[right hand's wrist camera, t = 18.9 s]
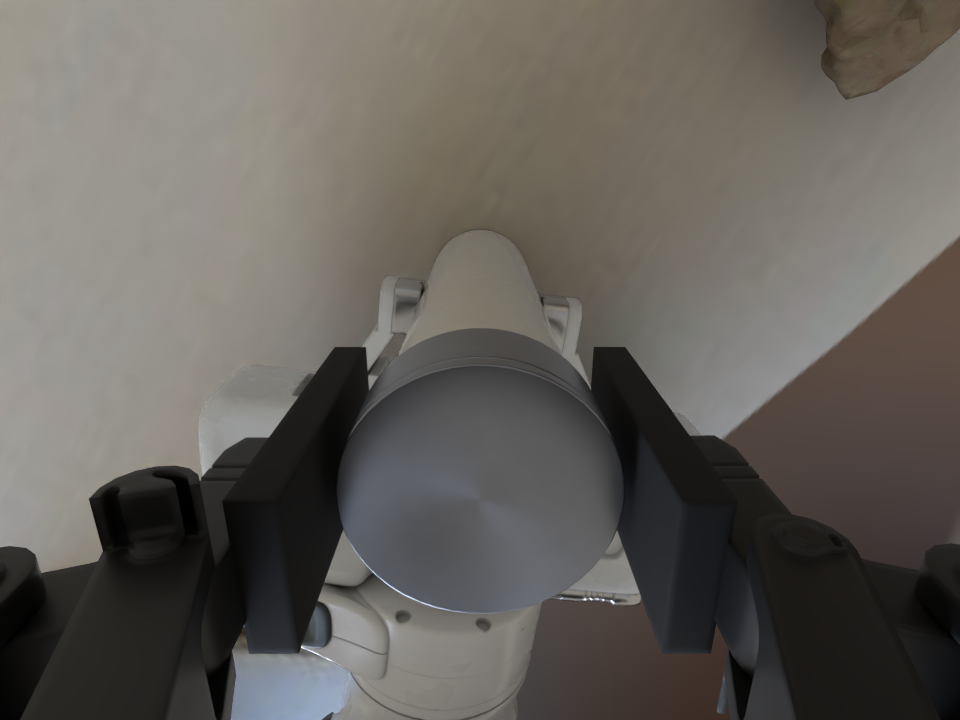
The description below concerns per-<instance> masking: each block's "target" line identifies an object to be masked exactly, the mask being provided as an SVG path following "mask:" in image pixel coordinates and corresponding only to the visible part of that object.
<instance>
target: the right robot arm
mask: <svg viewBox="0 0 960 720" xmlns="http://www.w3.org/2000/svg"><path fill="white" fill-rule="evenodd" d="M591 391H592V393H593V395H594V397H595V399H596V401H597V403H598V406H599V408H600V410H601V412H602V414H603V416H604V419H605V421H606V423H607V425H608V427H609V429H610V432H611V434H612V436H613V438H614V440H615V442H616V445H617V448H618V450H619V453H620V456H621V459H622V463H623V469H624V474H625V501H624V509H623V513H622V517H621V520H620V524H619V527H618V529H617V532H618V534H619V537H620V540H621V543H622V546H623V548H624V551H625V554H626V557H627V559H628V562H629V565H630V568H631V571H632V573H633V576H634V579H635V582H636V584H637V587H638V590H639V593H640V596H641V598H642V601H643V604H644V607H645V609H646V612H647V615H648V618H649V621H650V623H651V626H652V629H653V632H654V635H655V637H656V640H657V643H658V646H659V648H660V651H661V653H663V654H664V653H665V654H669V653H670V654H675V653H676V654H692V653H693V654H694V653H695V654H703V653H704V654H710V653H711V649H712V644H713V638H714V633H715V627H716V624H717V626H718V628H719V630H720V632H721V634H722V636H723V638H724V640H725V642H726V644H727V646H728V648H729V649H728V654H727V659H726V665H725V670H724V675H723V680H722V685H721V691H720V696H719V701H718V708H717V713H720V714H725V711H726V706H727V702H728V709H729V717H730V720H960V545H958V544H943V545H935V546H933V547H932V548H930V549H929V550H928V551H926V552H925V555H924V559H923V562H922V565H921V568H920V571H918V570H913V569H908V568H903V567H898V566H893V565H888V564H883V563H878V562H873V561H869V560H865V559H861V558H860V555H859V553H858V551H857V550H856V549H855V547H854V546H853V545H852V544H851V542H850V541H849V540H848V539H847V538H846V537H844V536H843V535H842V534H840V533H839V532H837V531H836V530H834V529H833V528H831V527H829V526H827V525H824V524H822V523H820V522H818V521H815V520H813V519H809V518H805V517H801V516H796V515H792V514H791V512H790V511H789V510H788V509H787V508H786V507H785V505H784V504H783V503H782V502H781V501H780V500H779V498H778V497H777V496H776V495H775V494H774V493H773V491H772V490H771V489H770V488H769V487H768V485H767V484H766V483H765V482H764V481H763V480H762V479H759V475H758V474H757V473H756V471H755V470H754V469H753V468H752V467H751V466H749V465H748V462H747V461H746V460H745V459H744V457H743V456H742V455H741V454H740V453H739V452H738V450H737V449H736V448H734V447H733V446H731V445H729V444H728V443H726V442H724V441H723V440H721V439H719V438H718V437H716V436H690V435H689V434H688V432H687V431H686V430H685V428H684V427H683V426H682V424H681V423H680V421H679V420H678V419H677V417H676V416H675V415H674V413H673V412H672V411H671V409H670V408H669V406H668V405H667V404H666V402H665V401H664V400H663V398H662V397H661V396H660V394H659V393H658V391H657V390H656V389H655V387H654V386H653V385H652V383H651V382H650V380H649V379H648V378H647V376H646V375H645V374H644V372H643V371H642V370H641V368H640V367H639V365H638V364H637V363H636V361H635V360H634V359H633V357H632V356H631V355H630V353H629V352H628V350H627V349H626V348H625V347H594V354H593V368H592V382H591ZM368 392H369V382H368V368H367V354H366V347H335V348H334V349H333V350H332V352H331V353H330V355H329V356H328V357H327V359H326V360H325V361H324V363H323V364H322V365H321V367H320V368H319V370H318V371H317V372H316V374H315V375H314V376H313V378H312V379H311V380H310V382H309V383H308V385H307V386H306V387H305V389H304V390H303V391H302V393H301V394H300V395H299V397H298V398H297V400H296V401H295V402H294V404H293V405H292V406H291V408H290V409H289V411H288V412H287V413H286V415H285V416H284V417H283V419H282V420H281V421H280V423H279V424H278V426H277V427H276V428H275V430H274V431H273V432H272V434H271V435H270V436H269V437H246V438H244V439H243V440H241V441H239V442H238V443H236V444H234V445H233V446H231V447H229V448H228V449H226V450H224V452H223V453H222V454H221V455H220V456H219V457H218V459H217V460H216V461H215V462H214V463H213V465H212V468H209V469H208V470H207V472H206V473H205V474H204V475H203V476H202V477H201V481H199V477H198V474H196V473H195V472H194V471H192V470H191V469H189V468H184V467H179V466H158V467H152V468H147V469H143V470H138V471H134V472H132V473H129V474H126V475H124V476H121V477H118V478H116V479H114V480H112V481H111V482H109V483H107V484H106V485H104V486H102V487H100V488H99V489H98V490H97V491H96V492H95V493H94V494H93V495H92V496H91V497H90V498H89V501H90V505H91V508H92V512H93V516H94V520H95V523H96V527H97V531H98V534H99V538H100V542H101V545H102V549H103V552H102V554H101V556H100V559H99V561H97V562H94V563H90V564H85V565H80V566H75V567H70V568H65V569H60V570H55V571H50V572H45V573H41V571H40V568H39V565H38V562H37V559H36V555H35V554H34V553H32V552H31V551H30V550H28V549H27V548H21V547H12V546H8V547H0V720H230V718H231V710H232V702H233V694H234V686H235V678H236V672H235V665H234V659H233V654H232V649H233V647H234V645H235V643H236V641H237V639H238V637H239V635H240V633H241V631H242V629H243V627H245V633H246V638H247V644H248V649H249V654H299V651H300V648H301V646H302V643H303V640H304V637H305V635H306V632H307V629H308V626H309V623H310V621H311V618H312V615H313V612H314V610H315V607H316V604H317V601H318V598H319V596H320V593H321V590H322V587H323V584H324V582H325V579H326V576H327V573H328V571H329V568H330V565H331V562H332V559H333V557H334V554H335V551H336V548H337V546H338V543H339V540H340V537H341V534H342V532H343V527H342V524H341V522H340V518H339V514H338V510H337V505H336V494H335V483H336V471H337V467H338V463H339V458H340V455H341V452H342V450H343V447H344V445H345V442H346V440H347V437H348V435H349V433H350V431H351V429H352V427H353V424H354V422H355V420H356V418H357V416H358V414H359V411H360V409H361V407H362V405H363V403H364V400H365V398H366V396H367V394H368Z"/></svg>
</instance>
